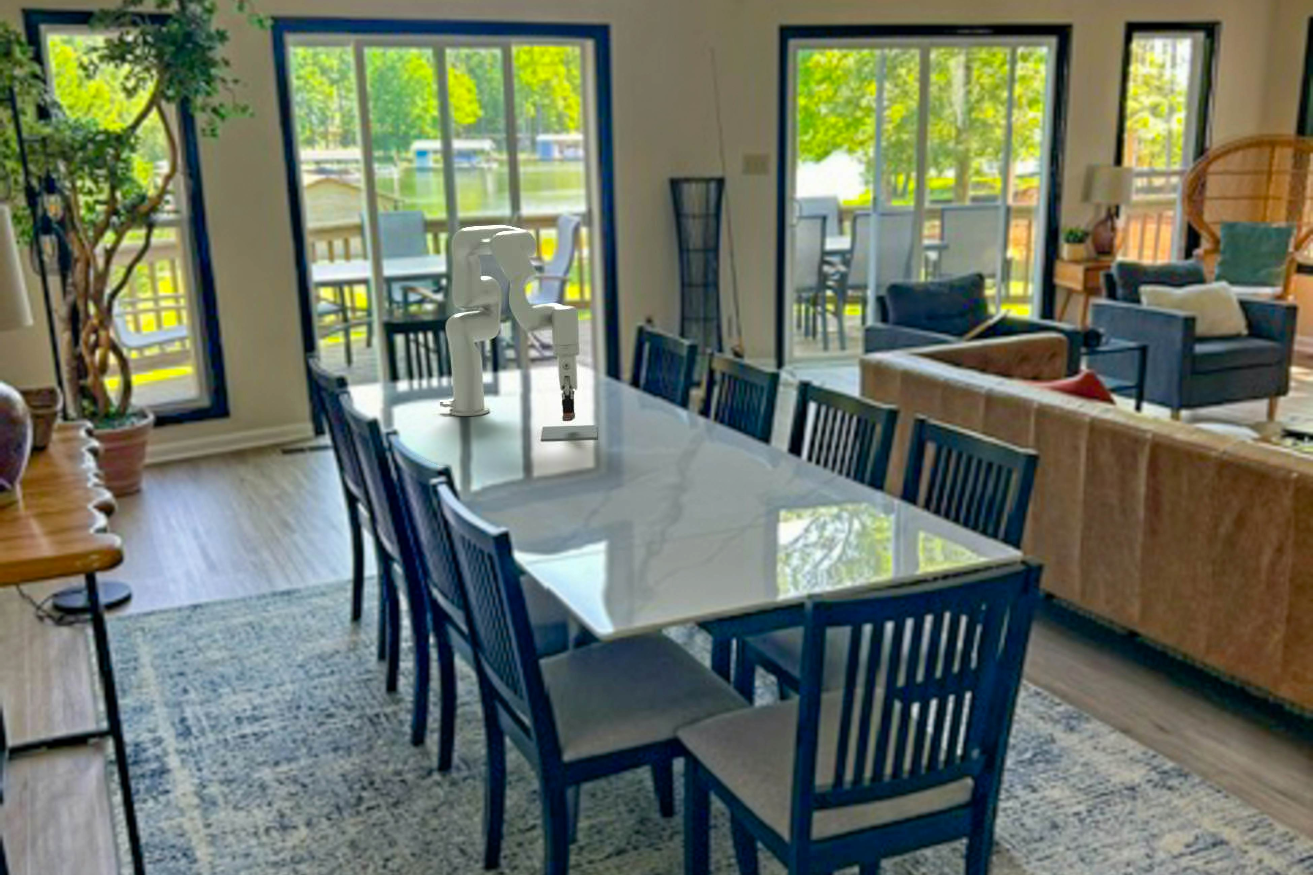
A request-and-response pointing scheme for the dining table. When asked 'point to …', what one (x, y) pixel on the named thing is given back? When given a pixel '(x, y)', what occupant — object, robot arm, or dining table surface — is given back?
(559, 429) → the mat
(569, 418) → the lighter
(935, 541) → the dining table surface
